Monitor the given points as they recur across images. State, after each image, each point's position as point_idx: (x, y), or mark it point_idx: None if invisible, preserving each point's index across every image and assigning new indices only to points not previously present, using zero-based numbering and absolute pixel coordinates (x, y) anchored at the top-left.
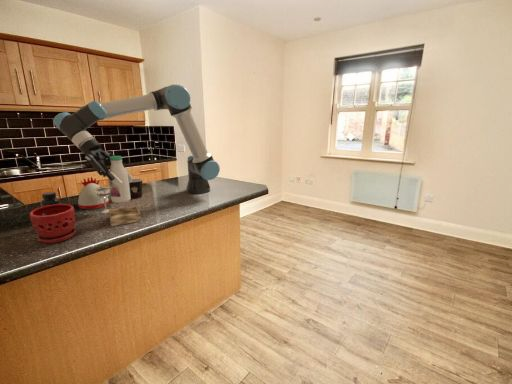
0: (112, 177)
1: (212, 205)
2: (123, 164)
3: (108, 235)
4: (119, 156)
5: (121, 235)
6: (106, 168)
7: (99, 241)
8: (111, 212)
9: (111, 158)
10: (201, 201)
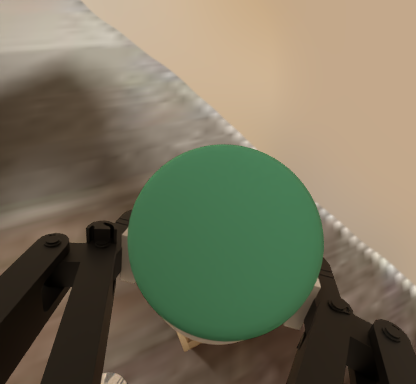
0: (324, 264)
1: (111, 37)
2: (46, 250)
3: (351, 272)
4: (243, 159)
5: (347, 231)
6: (331, 332)
7: (395, 281)
8: (186, 337)
9: (316, 274)
10: (62, 68)
